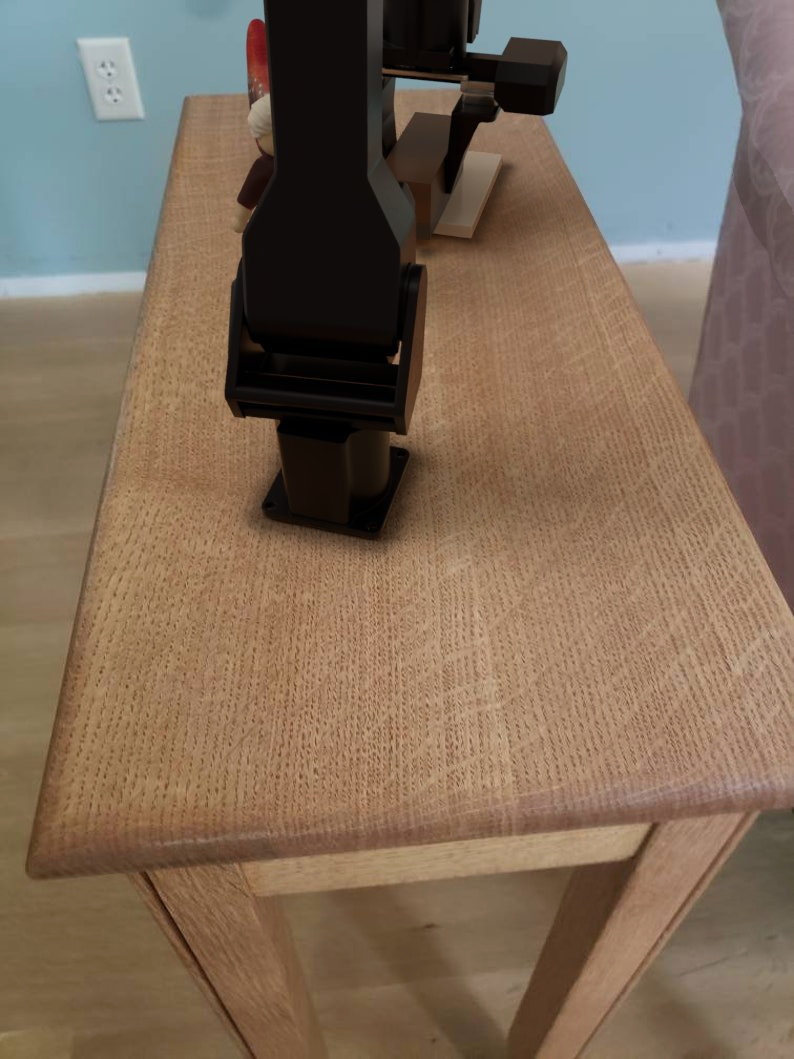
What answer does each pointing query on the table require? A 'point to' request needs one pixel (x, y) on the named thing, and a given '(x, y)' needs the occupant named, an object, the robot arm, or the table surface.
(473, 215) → the tile
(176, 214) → the table surface
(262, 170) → the grandmother figurine
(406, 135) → the tall brown wooden block
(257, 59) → the red tapered piece
